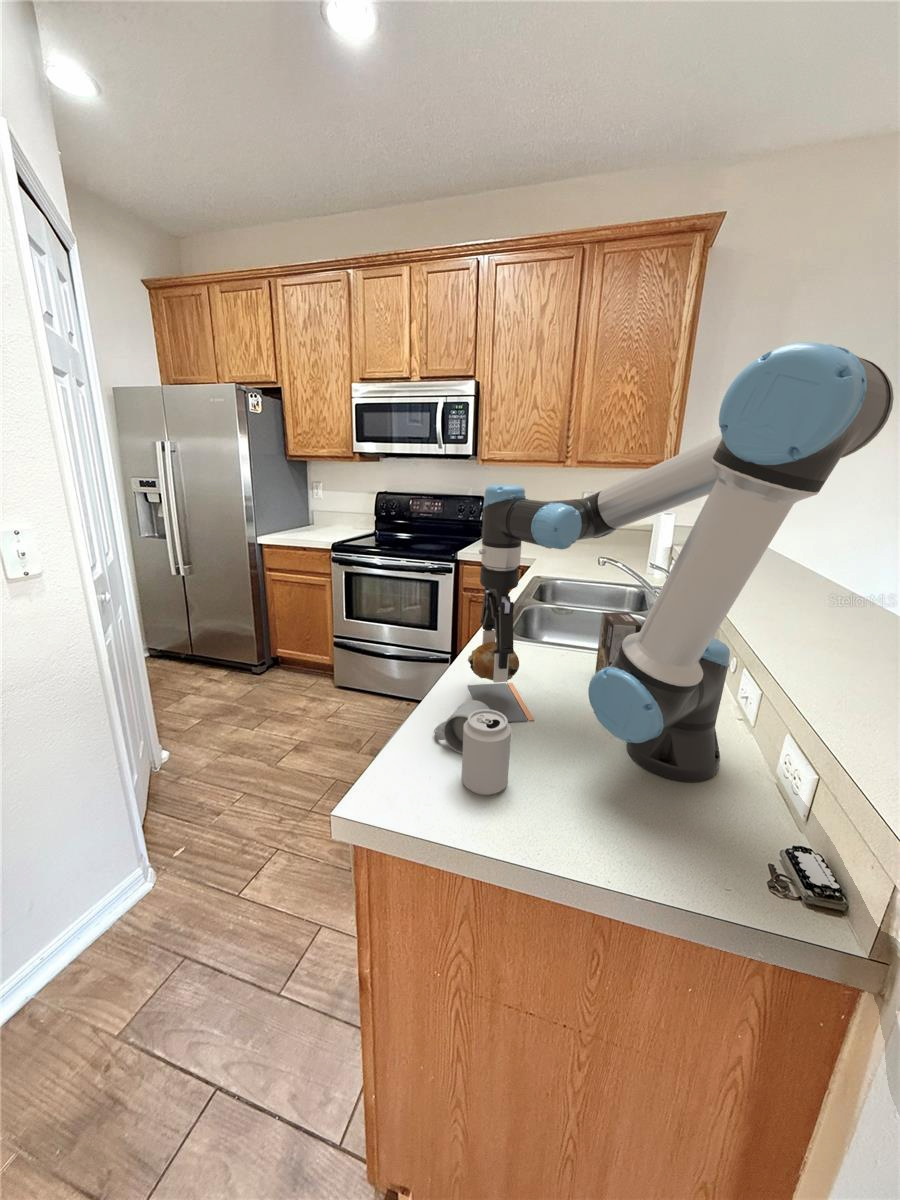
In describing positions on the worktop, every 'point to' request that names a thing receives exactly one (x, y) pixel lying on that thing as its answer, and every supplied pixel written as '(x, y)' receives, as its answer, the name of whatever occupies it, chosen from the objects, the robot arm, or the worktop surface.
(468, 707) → the ceramic mug
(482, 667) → the bread roll
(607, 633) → the coffee box
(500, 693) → the mat
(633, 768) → the worktop surface
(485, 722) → the can
